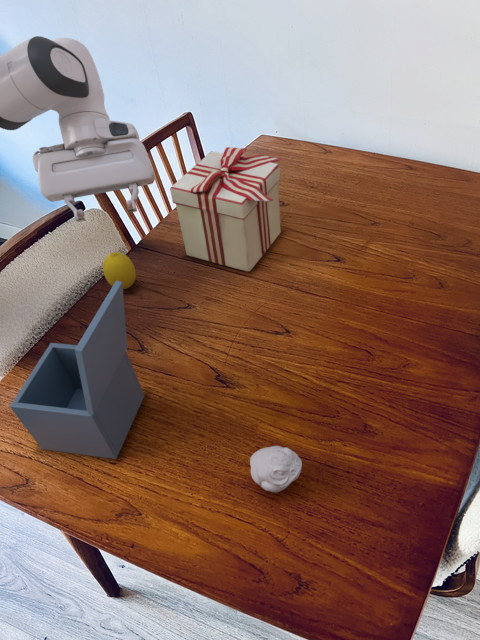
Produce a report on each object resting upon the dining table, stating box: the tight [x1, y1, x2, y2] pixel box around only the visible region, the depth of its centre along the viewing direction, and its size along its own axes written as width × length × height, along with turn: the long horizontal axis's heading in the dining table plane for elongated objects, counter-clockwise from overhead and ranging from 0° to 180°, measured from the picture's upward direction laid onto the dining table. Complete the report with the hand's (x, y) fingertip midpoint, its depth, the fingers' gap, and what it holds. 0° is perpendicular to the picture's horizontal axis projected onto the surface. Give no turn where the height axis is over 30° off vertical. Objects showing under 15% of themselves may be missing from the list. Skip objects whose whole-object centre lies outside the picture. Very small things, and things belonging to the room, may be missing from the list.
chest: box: [9, 342, 145, 460], centre depth 74 cm, size 12×12×10 cm
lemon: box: [102, 251, 137, 290], centre depth 95 cm, size 6×6×8 cm
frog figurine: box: [249, 445, 303, 493], centre depth 66 cm, size 6×7×7 cm
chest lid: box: [75, 281, 128, 414], centre depth 64 cm, size 12×12×1 cm
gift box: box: [169, 146, 283, 273], centre depth 98 cm, size 17×18×17 cm
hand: (107, 216), depth 95 cm, fingers open, 8 cm apart
